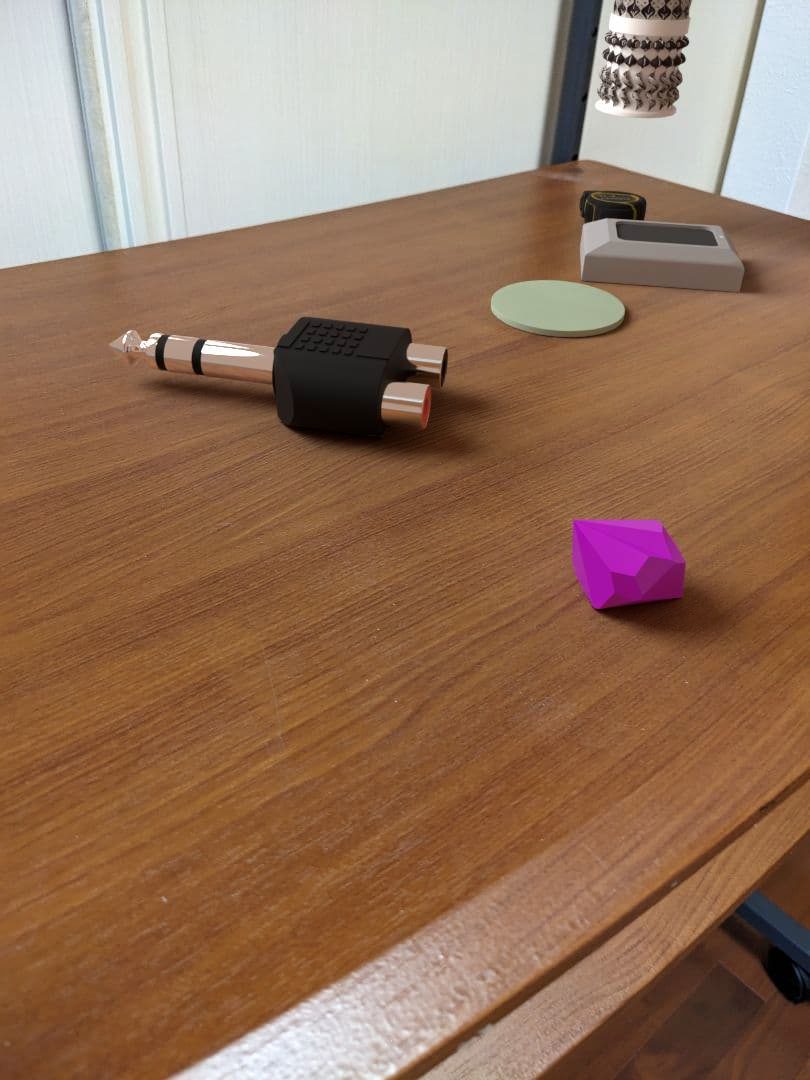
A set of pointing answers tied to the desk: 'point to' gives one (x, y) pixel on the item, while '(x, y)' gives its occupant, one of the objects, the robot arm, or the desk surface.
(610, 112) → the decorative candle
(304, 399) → the audio adapter
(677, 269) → the grey device with screen
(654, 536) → the crystal
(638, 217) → the tape measure
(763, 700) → the desk surface
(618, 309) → the coaster
